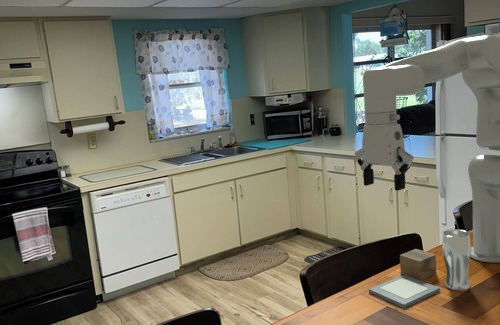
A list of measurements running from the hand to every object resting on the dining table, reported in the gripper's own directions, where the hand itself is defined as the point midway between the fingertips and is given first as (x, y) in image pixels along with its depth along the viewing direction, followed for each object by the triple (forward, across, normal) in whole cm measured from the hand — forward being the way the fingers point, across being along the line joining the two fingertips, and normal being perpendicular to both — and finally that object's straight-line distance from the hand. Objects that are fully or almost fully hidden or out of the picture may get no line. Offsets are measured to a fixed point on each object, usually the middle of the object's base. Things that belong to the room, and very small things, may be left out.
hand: (383, 187), depth 117 cm
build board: (+31, 0, -7) cm, 31 cm away
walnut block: (+31, +5, -19) cm, 36 cm away
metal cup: (+31, -7, -19) cm, 37 cm away
